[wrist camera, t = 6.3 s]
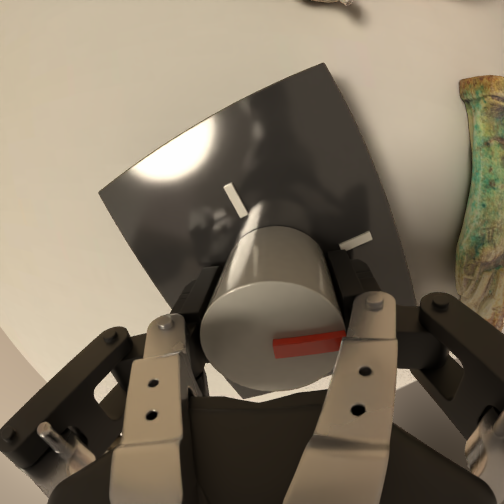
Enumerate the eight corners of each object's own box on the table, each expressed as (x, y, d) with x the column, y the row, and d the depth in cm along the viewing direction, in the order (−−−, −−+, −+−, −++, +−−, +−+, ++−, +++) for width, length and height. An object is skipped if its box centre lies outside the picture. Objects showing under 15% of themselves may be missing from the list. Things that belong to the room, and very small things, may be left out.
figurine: (515, 95, 10) (555, 96, 6) (485, 314, 16) (510, 346, 12) (451, 74, 10) (491, 66, 7) (427, 322, 16) (449, 361, 13)
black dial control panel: (127, 180, 15) (95, 193, 12) (315, 75, 12) (324, 60, 9) (248, 366, 19) (242, 401, 16) (406, 308, 16) (423, 340, 13)
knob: (238, 321, 14) (219, 400, 9) (214, 235, 12) (176, 297, 8) (331, 310, 13) (348, 390, 9) (322, 217, 11) (345, 275, 7)
